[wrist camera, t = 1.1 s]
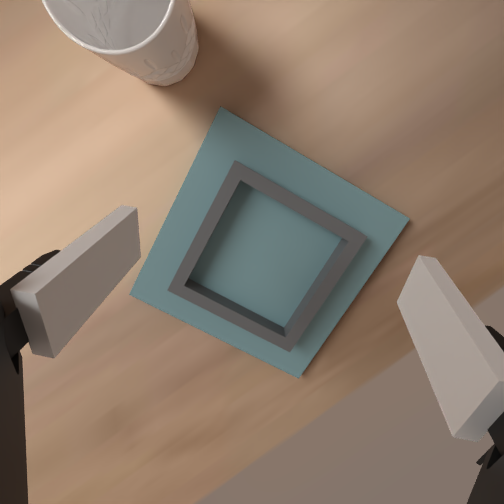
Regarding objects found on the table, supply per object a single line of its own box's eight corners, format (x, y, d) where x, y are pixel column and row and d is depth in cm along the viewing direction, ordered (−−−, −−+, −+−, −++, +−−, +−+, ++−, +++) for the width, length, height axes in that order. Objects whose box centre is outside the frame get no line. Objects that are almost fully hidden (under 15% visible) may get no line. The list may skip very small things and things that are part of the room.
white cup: (156, -36, 25) (93, -162, 16) (225, 44, 27) (207, -26, 17) (94, 42, 27) (3, -29, 17) (163, 113, 28) (115, 85, 18)
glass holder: (221, 108, 28) (217, 101, 25) (405, 217, 30) (420, 222, 27) (132, 290, 33) (120, 302, 30) (297, 372, 35) (301, 391, 32)
